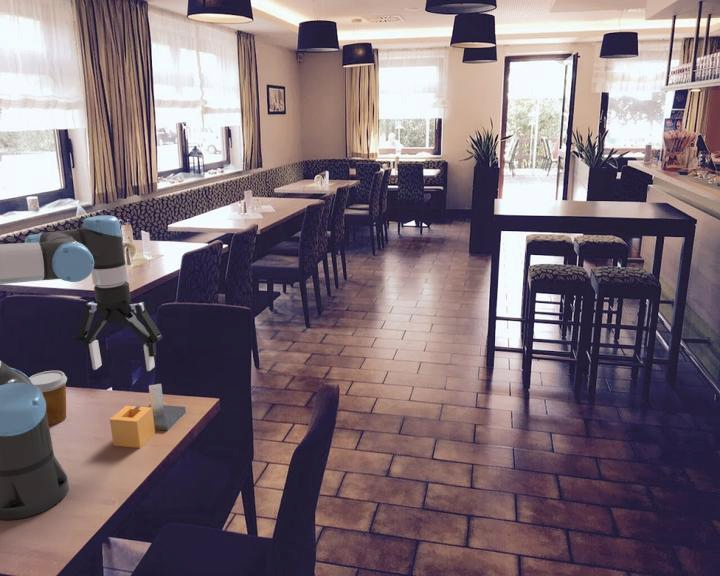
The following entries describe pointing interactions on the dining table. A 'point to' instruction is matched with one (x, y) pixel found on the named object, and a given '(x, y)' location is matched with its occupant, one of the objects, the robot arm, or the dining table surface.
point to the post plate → (168, 417)
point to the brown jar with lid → (52, 394)
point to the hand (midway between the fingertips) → (124, 368)
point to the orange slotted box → (132, 426)
